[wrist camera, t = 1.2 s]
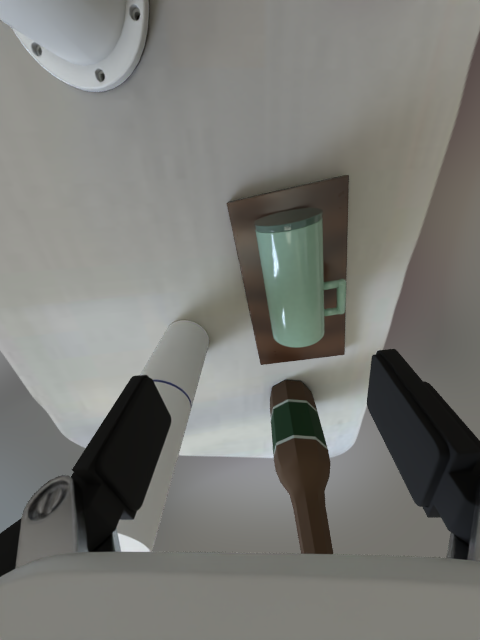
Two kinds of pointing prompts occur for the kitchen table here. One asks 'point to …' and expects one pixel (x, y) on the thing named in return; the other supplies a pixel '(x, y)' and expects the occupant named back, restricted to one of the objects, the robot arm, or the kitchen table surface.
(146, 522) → the cylindrical container
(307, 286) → the jug
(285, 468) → the beer bottle
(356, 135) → the kitchen table surface
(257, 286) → the serving board
